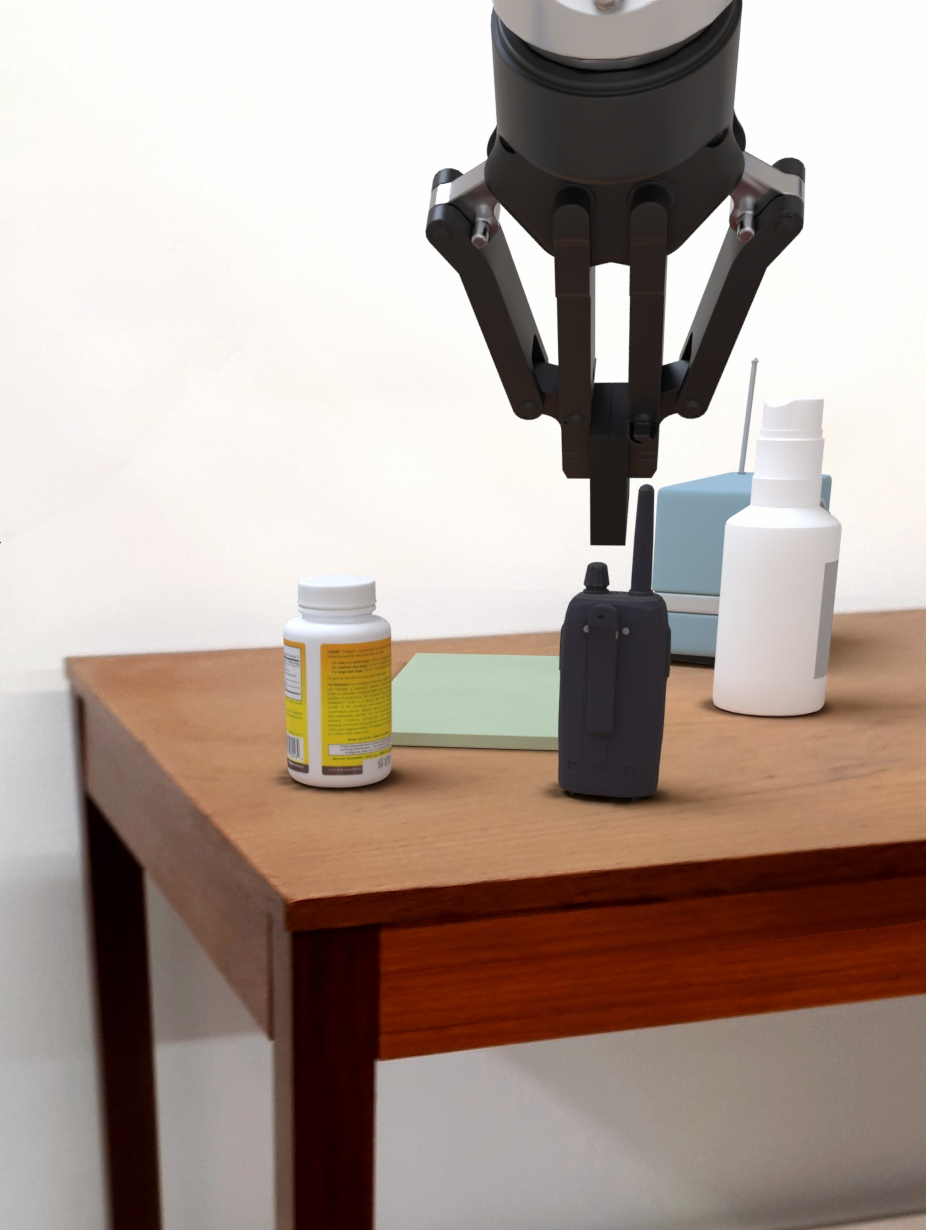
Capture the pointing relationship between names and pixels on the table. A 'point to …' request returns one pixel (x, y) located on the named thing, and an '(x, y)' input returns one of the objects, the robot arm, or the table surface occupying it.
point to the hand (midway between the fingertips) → (609, 519)
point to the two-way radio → (615, 677)
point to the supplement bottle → (338, 684)
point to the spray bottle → (779, 574)
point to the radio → (700, 549)
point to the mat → (477, 701)
